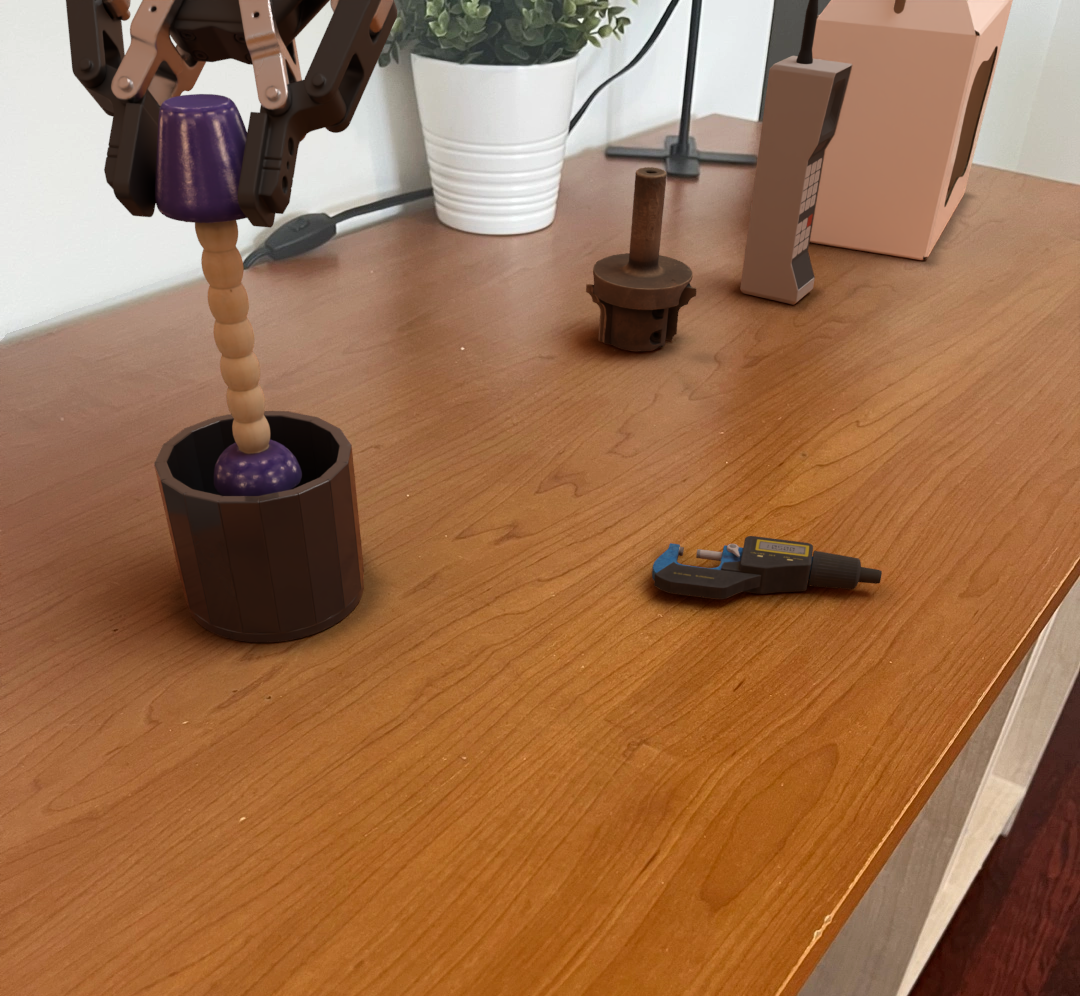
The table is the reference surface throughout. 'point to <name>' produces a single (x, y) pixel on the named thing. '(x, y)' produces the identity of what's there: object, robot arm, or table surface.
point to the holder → (265, 533)
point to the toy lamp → (222, 275)
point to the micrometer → (759, 569)
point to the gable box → (903, 117)
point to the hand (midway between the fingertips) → (194, 210)
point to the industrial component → (641, 277)
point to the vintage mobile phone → (791, 169)
